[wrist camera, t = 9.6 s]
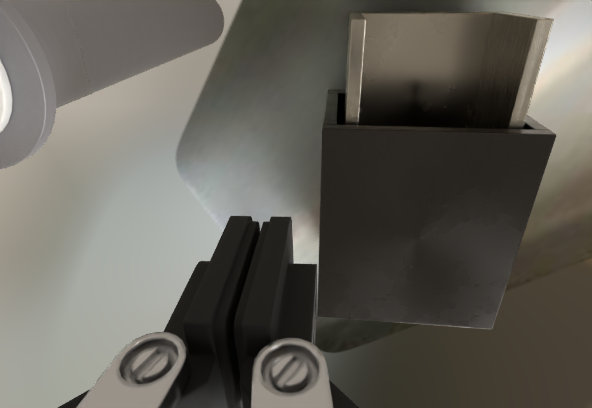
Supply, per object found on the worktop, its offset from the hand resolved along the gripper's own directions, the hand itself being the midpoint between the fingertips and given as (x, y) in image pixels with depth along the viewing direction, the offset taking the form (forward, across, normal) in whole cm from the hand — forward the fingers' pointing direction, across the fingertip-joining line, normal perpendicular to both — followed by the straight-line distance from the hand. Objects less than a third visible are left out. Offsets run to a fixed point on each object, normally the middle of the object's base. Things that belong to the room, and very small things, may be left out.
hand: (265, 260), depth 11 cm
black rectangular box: (+22, -8, +8) cm, 25 cm away
